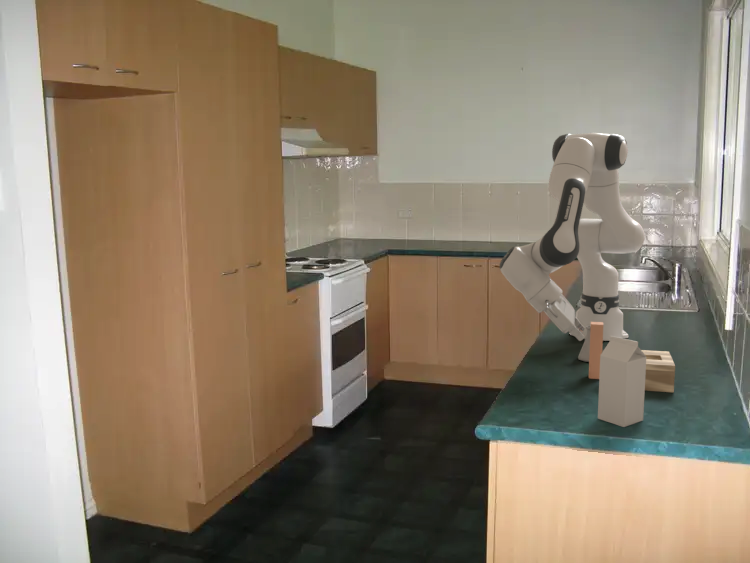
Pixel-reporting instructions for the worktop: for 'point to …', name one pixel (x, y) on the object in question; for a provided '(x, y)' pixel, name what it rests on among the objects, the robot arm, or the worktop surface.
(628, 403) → the milk carton
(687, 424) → the worktop surface
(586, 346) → the flask
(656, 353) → the tan block with hole
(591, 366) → the long pin
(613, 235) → the robot arm
